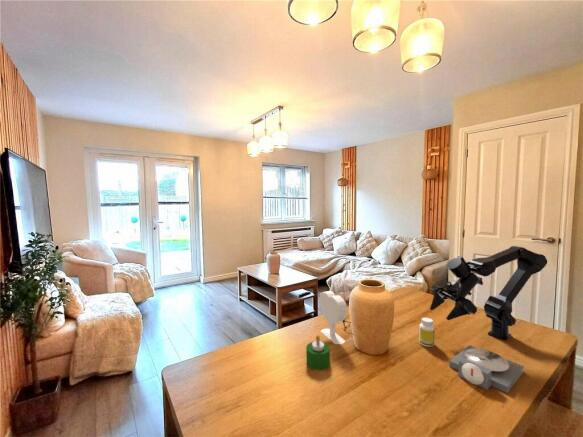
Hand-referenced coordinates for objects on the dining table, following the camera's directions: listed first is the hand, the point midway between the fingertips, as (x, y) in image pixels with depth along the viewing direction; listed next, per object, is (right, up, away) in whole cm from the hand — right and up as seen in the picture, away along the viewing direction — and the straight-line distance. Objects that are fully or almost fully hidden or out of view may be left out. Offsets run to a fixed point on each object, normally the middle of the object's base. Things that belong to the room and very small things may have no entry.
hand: (438, 314), depth 106 cm
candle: (-49, -13, -11) cm, 52 cm away
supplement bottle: (-5, -12, 0) cm, 13 cm away
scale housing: (+5, -13, -17) cm, 22 cm away
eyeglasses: (-26, -11, +16) cm, 32 cm away
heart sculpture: (-41, -12, +7) cm, 43 cm away
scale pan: (+7, -10, -16) cm, 20 cm away
